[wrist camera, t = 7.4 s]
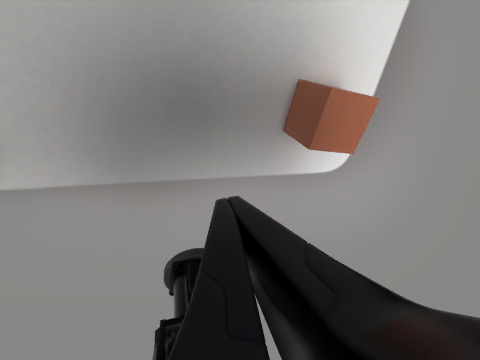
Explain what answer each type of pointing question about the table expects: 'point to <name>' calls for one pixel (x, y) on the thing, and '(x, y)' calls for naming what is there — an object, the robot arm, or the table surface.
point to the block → (328, 117)
